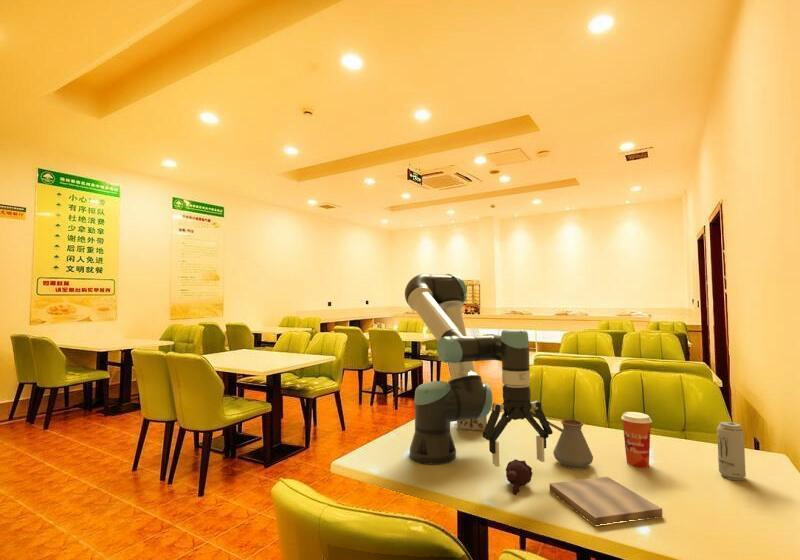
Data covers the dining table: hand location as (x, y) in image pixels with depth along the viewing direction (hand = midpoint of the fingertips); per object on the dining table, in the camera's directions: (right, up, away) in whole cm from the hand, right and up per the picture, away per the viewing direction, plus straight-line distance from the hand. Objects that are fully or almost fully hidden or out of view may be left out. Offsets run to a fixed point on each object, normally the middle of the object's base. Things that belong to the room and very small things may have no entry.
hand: (518, 462), depth 114 cm
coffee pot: (+17, -7, +16) cm, 24 cm away
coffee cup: (+41, -7, +13) cm, 44 cm away
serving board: (+18, -5, -11) cm, 22 cm away
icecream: (0, -6, -1) cm, 6 cm away
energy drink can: (+63, -6, +4) cm, 63 cm away
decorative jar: (-4, -9, +53) cm, 53 cm away
